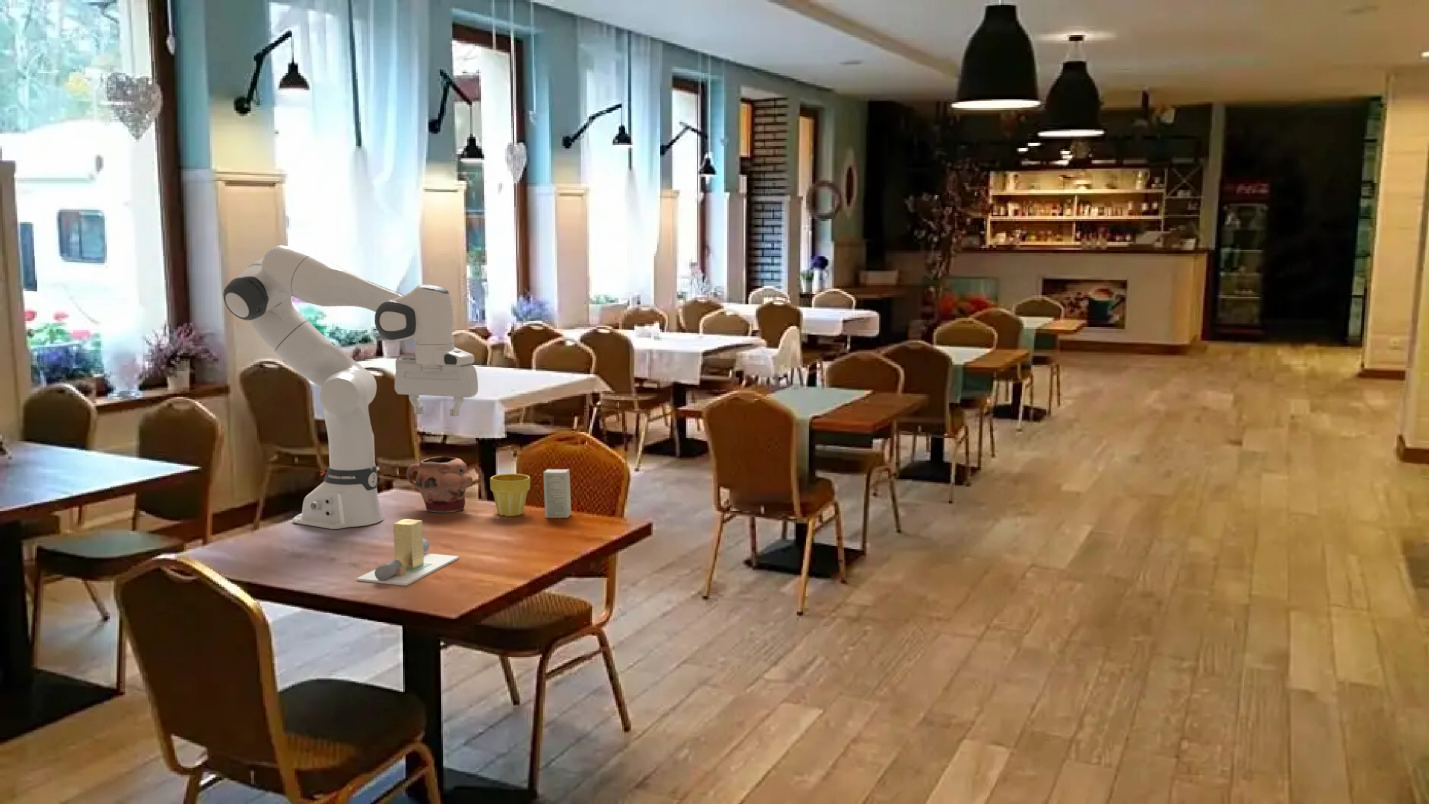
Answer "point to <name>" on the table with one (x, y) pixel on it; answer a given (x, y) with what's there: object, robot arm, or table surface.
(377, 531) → the table surface
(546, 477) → the skincare box
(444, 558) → the white flat board
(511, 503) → the plant pot
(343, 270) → the robot arm
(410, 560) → the block
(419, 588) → the table surface
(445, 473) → the pink clay mug
